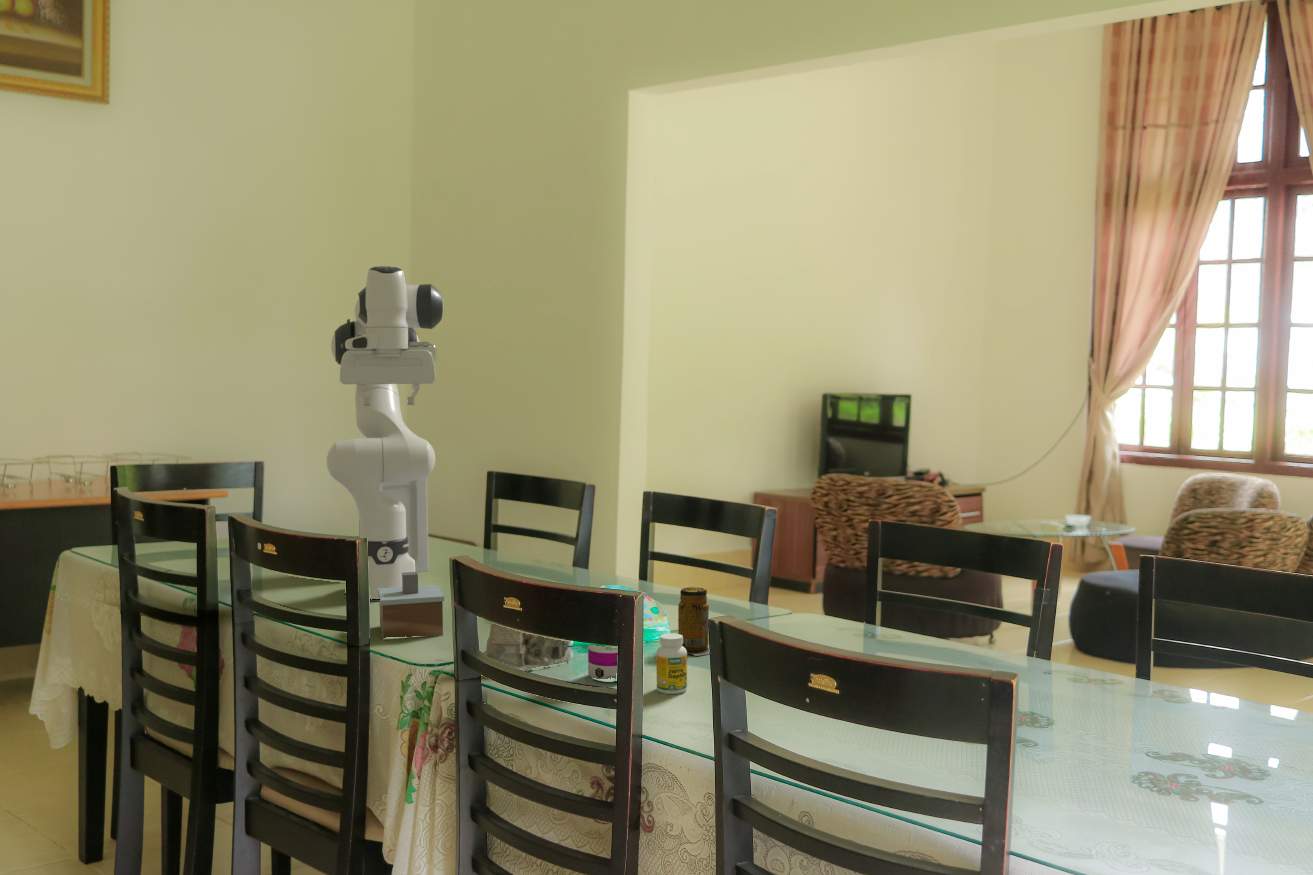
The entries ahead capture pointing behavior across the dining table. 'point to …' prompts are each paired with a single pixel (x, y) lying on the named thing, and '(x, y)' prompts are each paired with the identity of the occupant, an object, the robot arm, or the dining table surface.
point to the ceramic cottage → (524, 649)
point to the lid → (410, 592)
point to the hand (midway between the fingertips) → (388, 405)
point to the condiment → (694, 620)
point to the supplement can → (602, 662)
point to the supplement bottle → (671, 664)
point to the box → (412, 619)
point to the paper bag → (413, 517)
